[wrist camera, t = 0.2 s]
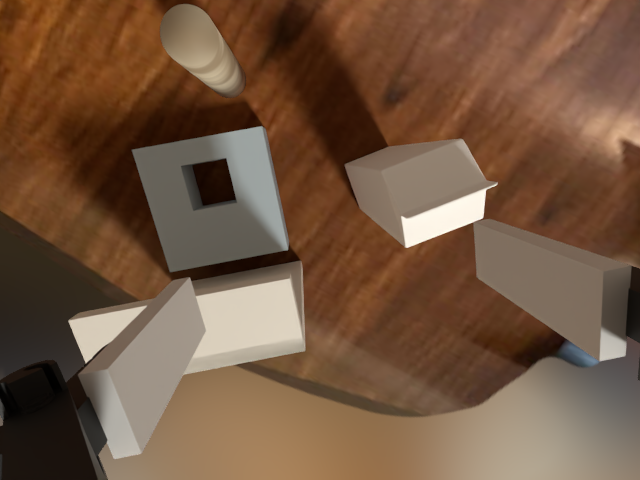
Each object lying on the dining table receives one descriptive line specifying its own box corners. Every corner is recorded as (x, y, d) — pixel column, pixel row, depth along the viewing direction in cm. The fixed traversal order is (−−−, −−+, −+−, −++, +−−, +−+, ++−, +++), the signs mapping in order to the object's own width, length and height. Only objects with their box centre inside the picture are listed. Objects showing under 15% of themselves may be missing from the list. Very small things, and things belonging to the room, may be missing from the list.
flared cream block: (169, 248, 42) (68, 320, 23) (293, 225, 42) (289, 278, 24) (182, 291, 43) (97, 391, 25) (302, 268, 44) (305, 350, 25)
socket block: (148, 150, 39) (131, 149, 35) (265, 129, 39) (261, 126, 35) (181, 261, 42) (169, 272, 38) (289, 241, 43) (288, 250, 39)
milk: (343, 164, 41) (390, 170, 19) (389, 146, 40) (488, 132, 19) (359, 209, 42) (420, 262, 21) (404, 192, 42) (511, 227, 21)
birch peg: (206, 63, 37) (152, 9, 23) (241, 56, 37) (208, -1, 23) (215, 100, 38) (169, 70, 24) (249, 94, 38) (222, 60, 24)
